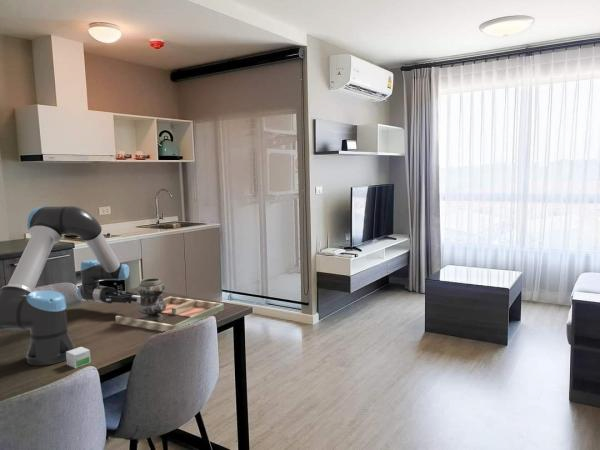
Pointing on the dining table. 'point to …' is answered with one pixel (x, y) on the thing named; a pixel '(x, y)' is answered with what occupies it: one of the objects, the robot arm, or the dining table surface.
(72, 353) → the small box
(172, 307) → the trap box
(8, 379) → the dining table surface
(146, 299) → the apothecary jar
